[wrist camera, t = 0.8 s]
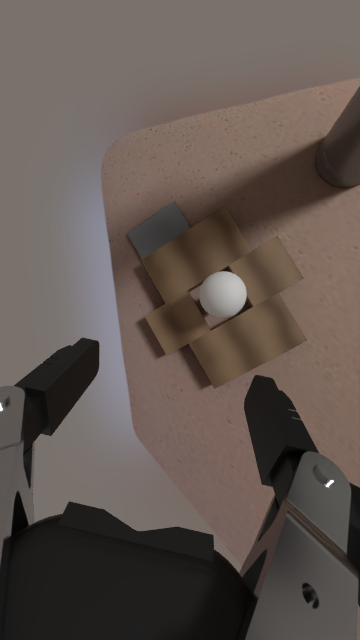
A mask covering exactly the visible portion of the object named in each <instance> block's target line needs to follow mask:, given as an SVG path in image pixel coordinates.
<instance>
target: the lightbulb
mask: <svg viewBox="0 0 360 640" xmlns="http://www.w3.org/2000/svg"><path fill="white" fill-rule="evenodd" d="M246 296H247V292H246V287H245V284H244V283H243V281H242V280H241V278H240V277H238V276H237V275H235V274H234V273H231V272H226V271H221V272H216V273H213V274H212V275H210V276H209V277H207V278H206V279H205V281H204V282H203V283H202V285H201V288H200V292H199V298H200V303H201V305H202V307H203V308H204V310H205V311H206V312H207V313H209V314H210V315H212V316H214V317H217V318H227V317H231V316H233V315H235V314H237V313H238V312H239V311H240V310H241V309H242V308H243V306H244V304H245V301H246Z"/></svg>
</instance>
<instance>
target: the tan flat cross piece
mask: <svg viewBox="0 0 360 640" xmlns="http://www.w3.org/2000/svg"><path fill="white" fill-rule="evenodd" d="M141 262H142V264H143V265H144V267H145V269H146V271H147V272H148V274H149V276H150V277H151V279H152V281H153V283H154V284H155V286H156V288H157V290H158V291H159V293H160V295H161V297H162V298H163V300H164V302H165V304H164V305H162V306H161V307H159V308H157V309H156V310H154V311H152V312H151V313H149V314H147V315H146V316H145V318H146V320H147V322H148V324H149V325H150V327H151V329H152V331H153V332H154V334H155V336H156V338H157V339H158V341H159V343H160V345H161V346H162V348H163V350H164V352H165V353H166V355H169V354H171V353H173V352H174V351H176V350H178V349H180V348H181V347H183V346H185V345H187V344H189V345H190V347H191V349H192V350H193V352H194V354H195V356H196V357H197V359H198V361H199V363H200V364H201V366H202V368H203V369H204V371H205V373H206V375H207V376H208V378H209V380H210V382H211V383H212V385H213V387H214V389H215V388H217V387H219V386H221V385H223V384H225V383H226V382H228V381H230V380H232V379H234V378H236V377H238V376H240V375H242V374H244V373H246V372H248V371H250V370H251V369H253V368H255V367H257V366H259V365H261V364H263V363H265V362H267V361H269V360H271V359H273V358H274V357H276V356H278V355H280V354H282V353H284V352H286V351H288V350H290V349H292V348H294V347H296V346H298V345H299V344H301V343H303V342H305V341H307V339H306V338H305V336H304V334H303V333H302V331H301V329H300V328H299V326H298V324H297V323H296V321H295V320H294V318H293V316H292V315H291V313H290V311H289V310H288V308H287V306H286V305H285V303H284V301H283V300H282V298H281V297H280V295H279V292H281V291H282V290H284V289H286V288H288V287H290V286H291V285H293V284H295V283H297V282H298V281H300V280H302V279H304V278H303V276H302V275H301V273H300V271H299V270H298V268H297V267H296V265H295V263H294V262H293V260H292V259H291V257H290V255H289V254H288V252H287V250H286V249H285V247H284V246H283V244H282V242H281V241H280V239H279V238H278V236H276V237H275V238H273V239H272V240H270V241H268V242H267V243H265V244H263V245H262V246H260V247H258V248H257V249H255V250H253V251H252V249H251V247H250V246H249V244H248V242H247V241H246V239H245V237H244V236H243V234H242V233H241V231H240V229H239V228H238V226H237V224H236V223H235V221H234V219H233V218H232V216H231V215H230V213H229V211H228V210H227V208H226V206H224V207H222V208H221V209H219V210H218V211H216V212H215V213H213V214H211V215H210V216H208V217H207V218H205V219H204V220H202V221H201V222H199V223H198V224H196V225H195V226H193V227H191V228H190V229H188V230H187V231H185V232H184V233H182V234H181V235H179V236H178V237H176V238H174V239H173V240H171V241H170V242H168V243H167V244H165V245H164V246H162V247H161V248H159V249H158V250H156V251H154V252H153V253H151V254H150V255H148V256H147V257H145V258H144V259H142V260H141ZM226 269H227V270H228V271H229V272H231V273H234V274H235V275H237V276H238V277H240V278H241V280H242V281H243V283H244V284H245V287H246V292H247V296H246V301H247V303H248V305H249V306H250V308H248V309H246V310H245V311H243V312H241V313H239V314H238V315H236V316H234V317H232V318H231V319H229V320H227V321H225V322H223V323H222V324H220V325H218V326H216V327H215V328H213V329H210V328H209V326H208V324H207V323H206V321H205V319H204V317H203V316H202V314H201V312H200V311H199V309H198V307H197V305H196V304H195V302H194V300H193V299H192V297H191V295H190V293H189V292H190V291H192V290H193V289H195V288H196V287H198V286H200V285H201V284H202V283H203V282H204V281H205V279H206V278H207V277H209V276H210V275H212V274H213V273H216V272H221V271H225V270H226Z"/></svg>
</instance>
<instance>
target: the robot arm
mask: <svg viewBox="0 0 360 640" xmlns="http://www.w3.org/2000/svg"><path fill="white" fill-rule="evenodd" d="M316 164H317V169H318V171H319V173H320V175H321V176H322V177H323V179H324V180H326V181H327V182H328V183H330V184H332V185H334V186H339V187H351V186H356V185H358V184H360V87H359V88H358V90H357V91H356V93H355V94H354V96H353V97H352V99H351V100H350V102H349V103H348V105H347V106H346V108H345V109H344V111H343V112H342V114H341V115H340V117H339V118H338V119H337V121H336V122H335V124H334V125H333V127H332V128H331V130H330V131H329V133H328V134H327V136H326V137H325V139H324V140H323V142H322V143H321V145H320V147H319V149H318V152H317V156H316ZM98 369H99V342H98V341H95V340H91V339H86V338H81V339H80V340H79V341H78V342H77V343H76V344H74V345H73V346H70V345H69V346H67V347H64V348H62V349H60V350H58V351H56V353H54V354H53V355H52V356H50V358H48V359H46V361H44V362H43V364H40V365H39V366H38V367H37V368H35V369H34V370H33V371H32V372H31V373H29V374H28V375H27V376H25V377H24V378H23V379H22V380H20V381H19V382H18V383H17V384H15V385H14V386H5V387H0V640H357V613H358V604H359V606H360V488H359V487H357V486H355V485H353V484H351V483H349V482H348V480H347V478H346V476H345V475H344V474H343V472H342V471H341V470H340V469H339V468H338V467H337V466H336V465H335V464H334V463H333V462H332V461H331V460H329V459H328V458H326V457H325V456H323V455H321V454H319V452H318V450H317V448H316V446H315V445H314V443H313V441H312V439H311V437H310V435H309V433H308V431H307V429H306V428H305V426H304V424H303V422H302V420H300V419H301V418H300V416H299V414H298V412H296V409H295V407H294V405H293V403H292V401H291V400H290V399H289V397H288V396H287V395H286V394H285V393H284V392H283V391H280V390H278V388H277V386H276V384H275V381H274V380H273V378H269V377H264V376H260V375H255V377H254V378H253V381H252V383H251V385H250V388H249V390H248V393H247V395H246V397H245V402H244V410H245V415H246V419H247V423H248V428H249V432H250V436H251V440H252V445H253V449H254V453H255V457H256V462H257V466H258V470H259V474H260V479H261V483H262V485H267V486H271V487H273V489H274V492H275V496H274V497H273V499H272V501H271V503H270V506H269V508H268V511H267V513H266V515H265V518H264V520H263V523H262V525H261V528H260V530H259V532H258V535H257V537H256V540H255V542H254V544H253V547H252V549H251V551H250V553H249V554H248V556H247V558H246V560H245V562H244V564H243V566H242V568H241V570H240V572H239V573H238V572H237V570H236V569H235V568H234V567H233V566H232V564H231V563H230V562H229V561H228V560H227V559H226V558H224V557H223V556H222V555H221V554H220V553H219V552H217V551H216V550H214V540H213V535H211V534H206V533H202V532H198V531H194V530H189V529H185V528H180V527H171V528H164V529H157V530H149V531H136V530H134V529H132V528H131V527H129V526H128V525H126V524H125V523H123V522H122V521H120V520H119V519H117V518H116V517H114V516H113V515H111V514H110V513H108V512H107V511H105V510H104V509H99V508H95V507H90V506H86V505H82V504H77V503H73V502H69V503H68V505H67V507H66V509H65V511H64V513H63V514H60V515H55V516H51V517H48V518H45V519H43V520H40V521H37V522H36V523H34V505H33V475H34V474H33V473H34V450H35V443H34V441H35V440H36V439H37V437H38V436H39V435H40V434H45V435H49V436H51V435H52V434H53V433H54V432H55V430H56V429H57V428H58V426H59V425H60V424H61V422H62V421H63V419H64V418H65V417H66V415H67V414H68V413H69V412H70V410H71V409H72V408H73V406H74V405H75V403H76V402H77V401H78V400H79V398H80V397H81V396H82V394H83V393H84V391H85V390H86V389H87V387H88V386H89V385H90V384H91V382H92V381H93V380H94V378H95V377H96V375H97V372H98Z"/></svg>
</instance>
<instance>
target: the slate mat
mask: <svg viewBox="0 0 360 640" xmlns="http://www.w3.org/2000/svg"><path fill="white" fill-rule="evenodd" d="M188 229H190V226H189V224H188V223H187V221H186V219H185V218H184V216H183V214H182V213H181V211H180V209H179V208H178V206H177V204H176V203H175V201H174V202H173V203H171V204H170V205H168V206H167V207H165V208H164V209H162V210H161V211H159V212H158V213H156V214H155V215H153V216H152V217H150V218H149V219H147V220H146V221H144V222H143V223H142V224H140V225H139V226H137V227H136V228H134V229H133V230H131V231H130V232H128V233H127V234H128V236H129V238H130V240H131V241H132V243H133V245H134V247H135V248H136V250H137V252H138V253H139V255H140V257H141V259H144V258H145V257H147V256H148V255H150V254H151V253H153V252H154V251H156V250H158V249H159V248H161V247H162V246H164V245H165V244H167V243H168V242H170V241H171V240H173V239H174V238H176V237H178V236H179V235H181V234H182V233H184V232H185V231H187V230H188Z"/></svg>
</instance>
